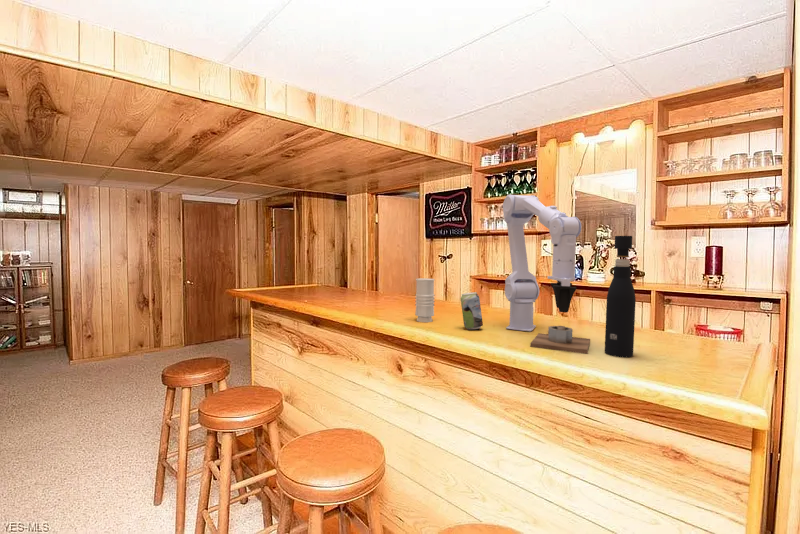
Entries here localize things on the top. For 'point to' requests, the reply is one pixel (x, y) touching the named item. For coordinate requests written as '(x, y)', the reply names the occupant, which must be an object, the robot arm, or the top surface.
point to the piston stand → (576, 346)
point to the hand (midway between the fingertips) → (562, 309)
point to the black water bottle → (620, 304)
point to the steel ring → (560, 335)
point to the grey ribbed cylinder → (424, 299)
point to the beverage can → (471, 310)
